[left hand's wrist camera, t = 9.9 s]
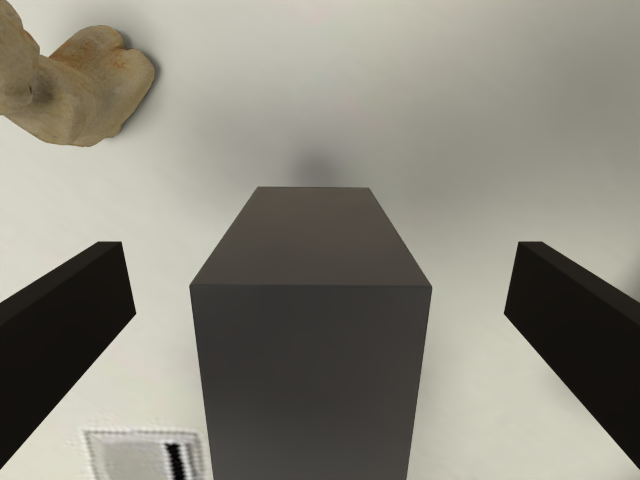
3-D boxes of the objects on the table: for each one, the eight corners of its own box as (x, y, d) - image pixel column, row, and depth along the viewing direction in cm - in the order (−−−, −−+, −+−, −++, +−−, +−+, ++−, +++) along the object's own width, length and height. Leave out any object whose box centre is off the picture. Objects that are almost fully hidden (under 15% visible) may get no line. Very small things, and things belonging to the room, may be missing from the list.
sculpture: (177, 76, 26) (14, 48, 12) (125, 155, 28) (-69, 211, 14) (103, 14, 24) (-182, -102, 10) (53, 101, 26) (-245, 102, 12)
